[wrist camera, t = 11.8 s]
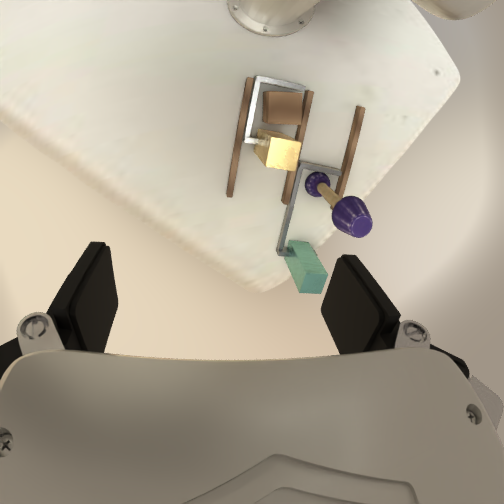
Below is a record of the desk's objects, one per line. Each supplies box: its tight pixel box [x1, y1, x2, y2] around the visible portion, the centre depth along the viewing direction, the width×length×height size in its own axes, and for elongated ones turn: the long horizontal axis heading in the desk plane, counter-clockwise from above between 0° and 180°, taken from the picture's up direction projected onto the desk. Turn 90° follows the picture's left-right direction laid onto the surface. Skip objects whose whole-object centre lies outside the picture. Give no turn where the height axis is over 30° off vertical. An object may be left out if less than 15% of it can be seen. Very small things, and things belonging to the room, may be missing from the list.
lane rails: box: [226, 77, 365, 210], centre depth 40 cm, size 18×18×2 cm
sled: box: [243, 75, 306, 171], centre depth 34 cm, size 11×7×10 cm, turn 170°
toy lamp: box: [305, 172, 372, 238], centre depth 37 cm, size 5×5×17 cm
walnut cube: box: [263, 91, 302, 125], centre depth 36 cm, size 4×4×4 cm
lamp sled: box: [276, 161, 342, 294], centre depth 43 cm, size 17×7×10 cm, turn 170°
